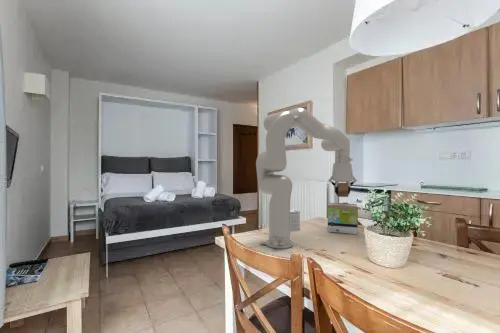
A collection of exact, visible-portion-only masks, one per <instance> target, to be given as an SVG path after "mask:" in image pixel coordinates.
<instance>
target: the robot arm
mask: <svg viewBox="0 0 500 333" xmlns="http://www.w3.org/2000/svg"><path fill="white" fill-rule="evenodd" d="M263 127H264V129H265V131H266V135H265V151H263V152H260V153H259V154H258V156H257V157H256V161H255V168H256V177H257V184H258V188H259V190H260V191H261V192H262V193H263V194H265V195H266V194H267V195H271V196H270V198H269V202H268V239H266V241H265V245H266V246H267V247H269V248H272V249H277V250H278V249H279V250H281V249H288V248H292V247H293V246H294V244H295V243H294V241H293V240H292V239H291V231H290V208H291V197H292V192H293V182H292V180H291V178H290V177H288V176H287V175H284V174H278V173H280V172H283V171H284V170H285V169H286V167H287V162H288V160H287V154H286V137H287V134H288V132H289V131H290V130H291V128H296V127H297V128H299V129H300V130H301V131H303V132H304V133H305V134H306V135H308V136H309V137H310V138H313V139H319V140H321V144H320V145H321V146H320V147H321V148H322V150H323V151H325V152H334V163H333V165H332V170H331V171H332V174H331V176H330V178H329V179H328V180H327V181H328V182H329V183H331V185H333V187H334V193H335V195H336V196H337V195H338V186H337V185H338V183H348V196H349V195H350V193H351V187H352V186H353V185H354V184H355V183H356V182H357V181H358V180H357V179H356V177H355V176H354V175H353V167H352V163H351V162H352V161H353V158H351V156H350V155H351V153H350V152H351V147H350V145H351V144H350V143H351V140H350V138H349V137H348V136H346V134H345V133H343V132H342V131H341V130H340V129H338V128H336V127H333V126H331V125H328V124H326V123H323V122H321V121H320V120H318V118H316V117H315V116H314V115H313V114H312V113H311V112H309V111H308V110H307V109H306V108H303V107H296V108H294V109H293V108H292V109H289V110H284V111H280V112H276V113H275V112H274V113H272V114H269V115H266V117H265V118H264V120H263ZM276 173H277V174H276Z"/></svg>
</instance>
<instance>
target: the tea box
mask: <svg viewBox="0 0 500 333" xmlns="http://www.w3.org/2000/svg"><path fill="white" fill-rule="evenodd" d="M327 204H328V205H327V233H339V234H340V233H341V234H350V235H358V233H359V232H358V228H359V226H358V224H359V223H358V222H359V206H358V205H357V203H348V202H345V203H343V202H331V201H329V202H328V203H327Z"/></svg>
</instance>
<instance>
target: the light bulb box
mask: <svg viewBox="0 0 500 333" xmlns="http://www.w3.org/2000/svg"><path fill="white" fill-rule="evenodd" d="M300 222H301V211H300V210H299V209H295V208H291V207H290V232H294V231H295V232H296V231H300V229H301V227H300V226H301V224H300Z"/></svg>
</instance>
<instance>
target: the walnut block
mask: <svg viewBox="0 0 500 333" xmlns="http://www.w3.org/2000/svg"><path fill="white" fill-rule="evenodd" d="M337 186H338V195H337V194H336V197H338V198H349V195H348V183H346V182H338V185H337Z"/></svg>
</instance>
